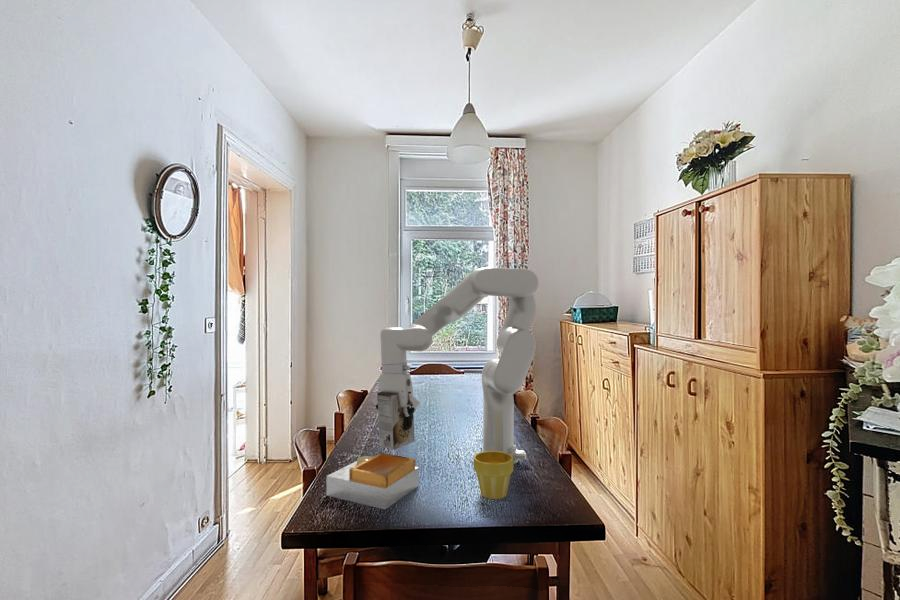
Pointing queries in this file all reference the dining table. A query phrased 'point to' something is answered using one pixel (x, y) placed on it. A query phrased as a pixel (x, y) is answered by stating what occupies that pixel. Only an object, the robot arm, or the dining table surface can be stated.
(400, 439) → the coffee box
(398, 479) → the white and orange tray
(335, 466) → the dining table surface
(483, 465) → the plant pot
